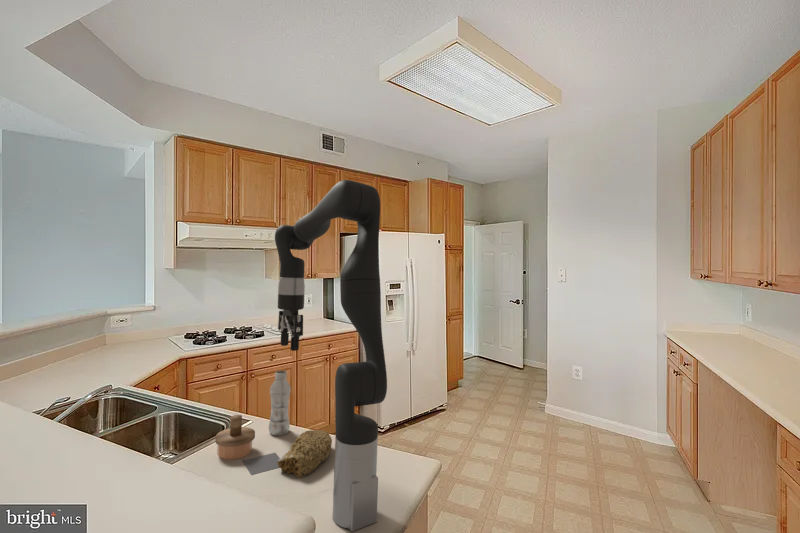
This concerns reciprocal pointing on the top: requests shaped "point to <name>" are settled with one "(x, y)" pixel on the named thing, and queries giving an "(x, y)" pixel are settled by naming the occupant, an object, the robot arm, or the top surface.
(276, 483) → the top surface
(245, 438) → the lid
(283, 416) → the plastic bottle
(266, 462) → the mat
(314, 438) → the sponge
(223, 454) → the bowl
